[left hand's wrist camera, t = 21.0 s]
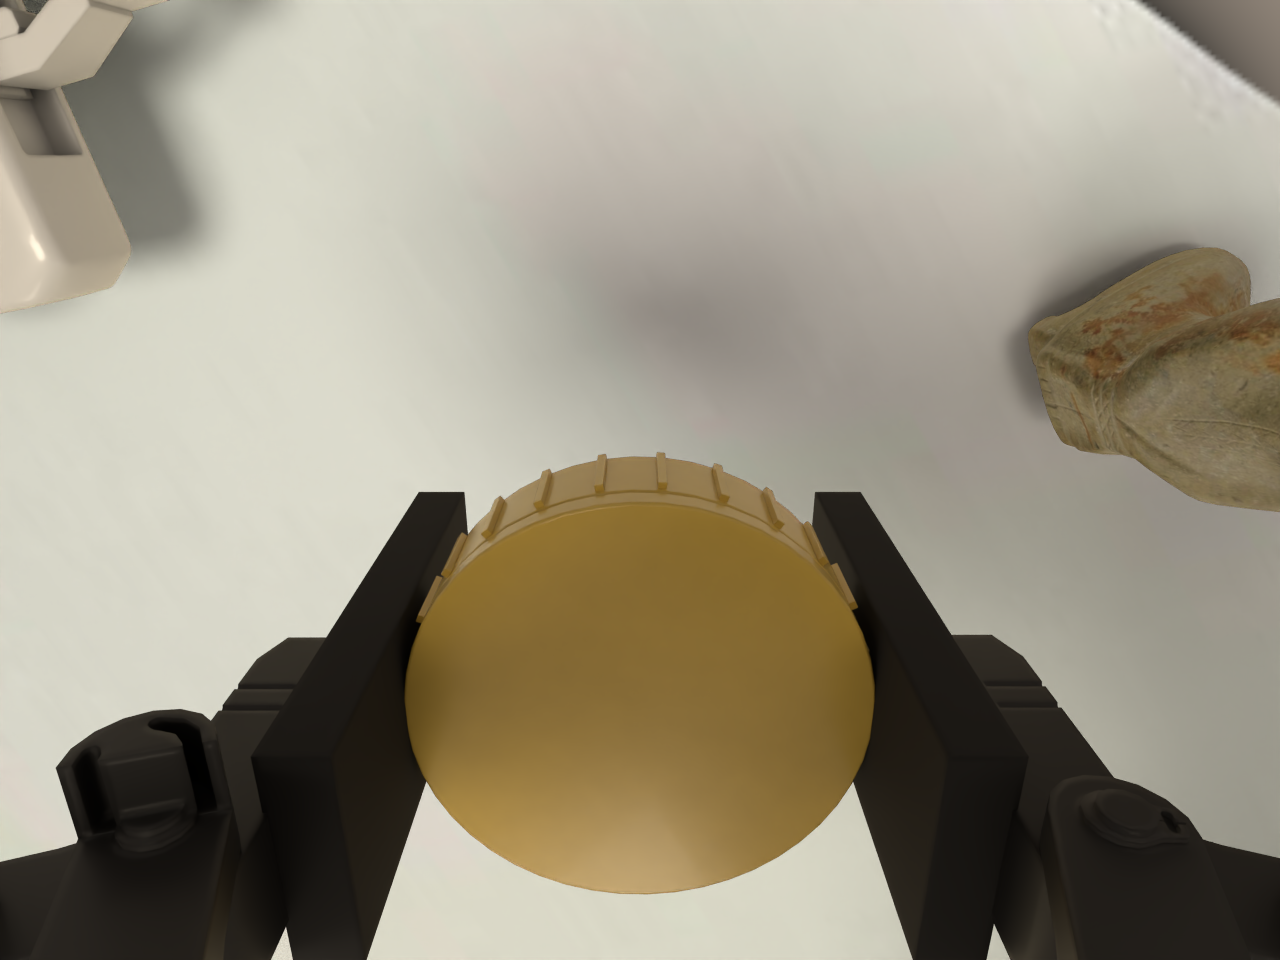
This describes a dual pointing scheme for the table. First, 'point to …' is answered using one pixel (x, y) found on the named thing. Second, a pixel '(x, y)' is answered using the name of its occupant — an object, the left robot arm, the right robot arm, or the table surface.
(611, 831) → the lid
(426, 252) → the table surface
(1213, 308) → the sculpture
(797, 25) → the table surface
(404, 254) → the table surface
